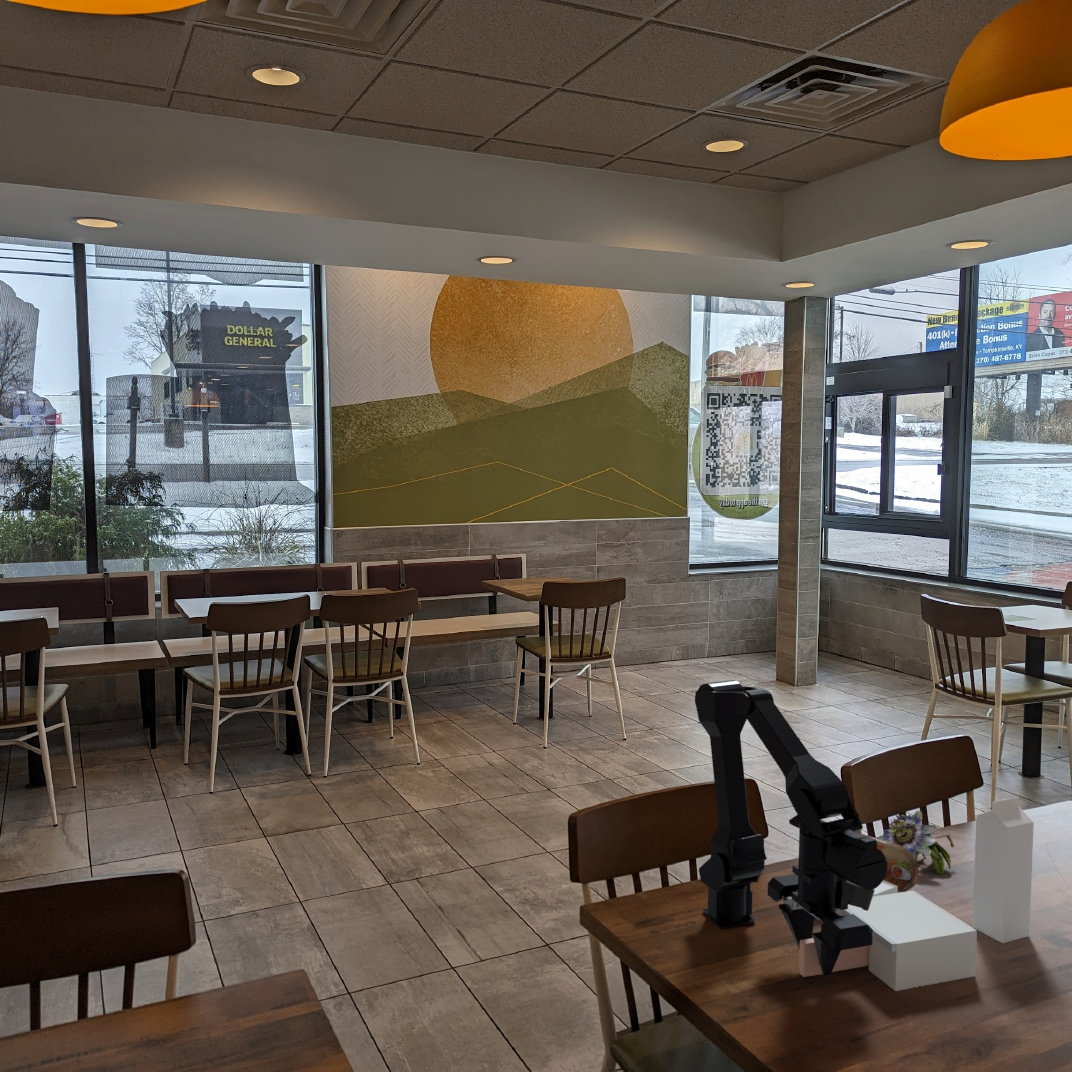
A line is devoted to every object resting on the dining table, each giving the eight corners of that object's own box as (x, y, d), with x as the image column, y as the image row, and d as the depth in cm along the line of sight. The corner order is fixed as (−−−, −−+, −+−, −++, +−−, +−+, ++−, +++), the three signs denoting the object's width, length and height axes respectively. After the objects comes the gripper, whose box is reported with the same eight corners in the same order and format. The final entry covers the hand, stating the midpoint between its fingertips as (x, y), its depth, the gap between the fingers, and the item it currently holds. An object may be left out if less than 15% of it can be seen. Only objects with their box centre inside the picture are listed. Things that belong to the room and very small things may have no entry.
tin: (834, 873, 177) (835, 829, 177) (843, 869, 179) (845, 825, 179) (911, 901, 166) (912, 854, 165) (920, 896, 168) (921, 850, 167)
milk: (1029, 937, 154) (1036, 803, 152) (1002, 944, 151) (1008, 808, 150) (997, 920, 159) (1003, 791, 158) (970, 927, 157) (976, 795, 155)
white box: (890, 992, 137) (892, 944, 137) (832, 945, 150) (833, 901, 150) (975, 976, 141) (976, 929, 141) (911, 932, 155) (913, 889, 154)
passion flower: (898, 894, 181) (861, 836, 184) (927, 869, 188) (891, 813, 191) (943, 880, 173) (904, 819, 176) (972, 854, 179) (934, 796, 183)
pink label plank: (803, 977, 140) (804, 944, 140) (798, 972, 141) (799, 940, 141) (928, 955, 147) (929, 923, 146) (923, 951, 148) (924, 919, 147)
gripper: (907, 882, 134) (903, 990, 135) (828, 833, 152) (826, 929, 153) (838, 892, 130) (835, 1002, 132) (766, 841, 148) (764, 939, 149)
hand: (816, 965), depth 141 cm, fingers open, 5 cm apart
